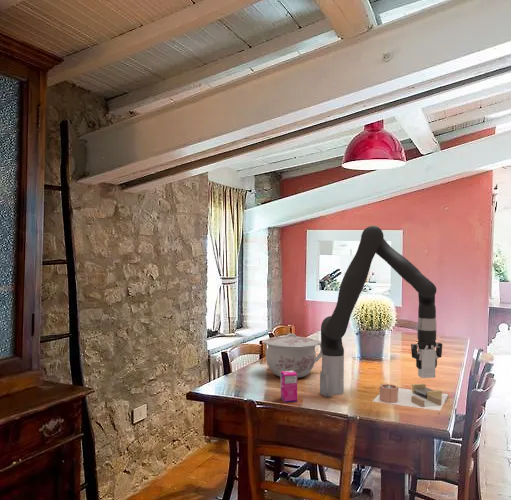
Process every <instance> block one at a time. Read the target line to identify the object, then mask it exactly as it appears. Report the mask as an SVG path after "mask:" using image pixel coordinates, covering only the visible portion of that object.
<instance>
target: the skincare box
mask: <svg viewBox="0 0 511 500" xmlns="http://www.w3.org/2000/svg"><path fill="white" fill-rule="evenodd" d="M418 349H419V347H418ZM418 349H417V350H418ZM435 351H436V348H434V349H426V350H424V355H422V359H421V360H422V368H421V369H418V368H417V375H418V377H419V378H421V379H429V378H430V379H433V378H434V379H436V368H435ZM419 352H421V353H422V352H423V349H419Z"/></svg>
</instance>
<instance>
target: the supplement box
mask: <svg viewBox="0 0 511 500" xmlns="http://www.w3.org/2000/svg"><path fill="white" fill-rule="evenodd" d="M280 399H281V400H282V401H283V402H284V403H294V402H295V403H296V402H298V378H297V373H295V372H294V371H281V377H280Z"/></svg>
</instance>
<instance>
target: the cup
mask: <svg viewBox="0 0 511 500" xmlns="http://www.w3.org/2000/svg"><path fill="white" fill-rule="evenodd" d="M388 385H390V386H393V388H385V386H388ZM398 388H399V386H397V385H396V384H391V383H390V384H389V383H383V384H382V383H381V384H380V385H379V394H380V400H381V401H383V402H388V403H394V402H397V401H398ZM388 403H387V404H388Z"/></svg>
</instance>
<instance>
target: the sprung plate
mask: <svg viewBox="0 0 511 500" xmlns="http://www.w3.org/2000/svg"><path fill="white" fill-rule="evenodd" d="M415 391H417V392H419V393H421V394H424V395H427V391H435V390H433V389H431V388H429V387H426V388H416V389H415Z"/></svg>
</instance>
